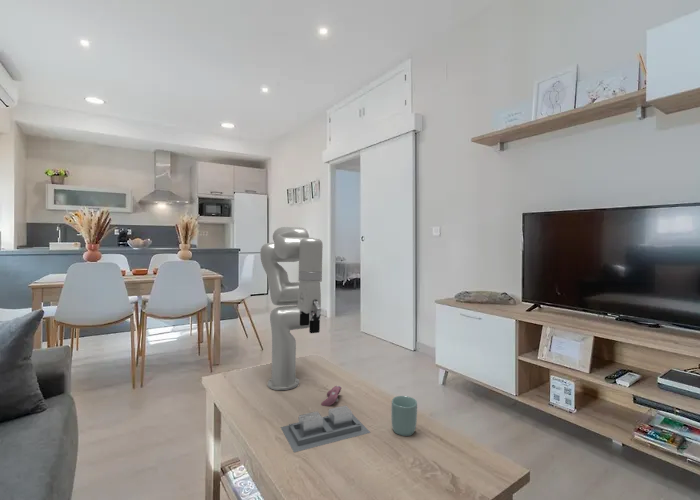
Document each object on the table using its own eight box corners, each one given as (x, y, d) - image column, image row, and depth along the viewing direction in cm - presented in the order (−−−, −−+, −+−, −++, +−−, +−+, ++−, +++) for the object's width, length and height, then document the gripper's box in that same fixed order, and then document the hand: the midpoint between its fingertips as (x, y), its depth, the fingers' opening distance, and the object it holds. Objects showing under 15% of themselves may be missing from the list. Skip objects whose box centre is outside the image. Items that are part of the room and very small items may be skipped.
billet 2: (328, 424, 110) (328, 409, 110) (345, 420, 113) (345, 405, 112) (334, 432, 106) (334, 415, 106) (351, 427, 109) (352, 411, 108)
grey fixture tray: (280, 430, 108) (280, 422, 108) (350, 414, 119) (350, 407, 119) (293, 455, 96) (293, 446, 95) (370, 435, 106) (370, 427, 106)
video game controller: (330, 413, 122) (339, 397, 121) (319, 406, 123) (328, 390, 122) (336, 401, 132) (345, 385, 131) (326, 394, 132) (334, 379, 132)
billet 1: (298, 431, 106) (298, 415, 106) (317, 427, 108) (317, 411, 108) (303, 439, 102) (303, 422, 102) (322, 434, 104) (322, 418, 104)
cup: (418, 429, 110) (419, 398, 110) (414, 442, 103) (415, 409, 103) (393, 424, 113) (394, 394, 112) (388, 437, 105) (389, 404, 105)
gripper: (291, 274, 120) (290, 323, 120) (308, 280, 104) (306, 337, 105) (312, 273, 123) (311, 321, 124) (331, 279, 107) (330, 334, 108)
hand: (309, 328), depth 114 cm, fingers open, 9 cm apart
